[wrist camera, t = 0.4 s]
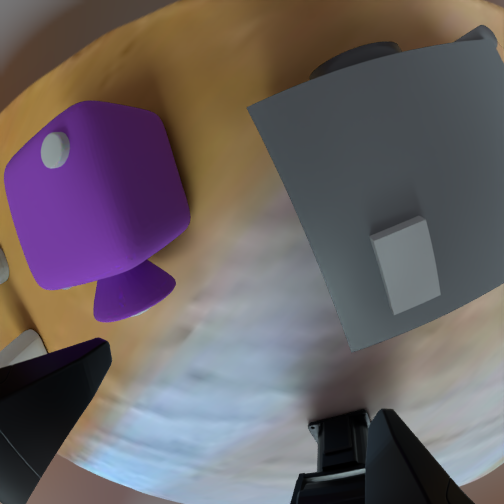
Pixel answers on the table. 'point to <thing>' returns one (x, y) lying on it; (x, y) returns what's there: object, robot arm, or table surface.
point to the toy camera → (99, 205)
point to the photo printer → (22, 349)
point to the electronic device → (3, 267)
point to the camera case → (396, 179)
